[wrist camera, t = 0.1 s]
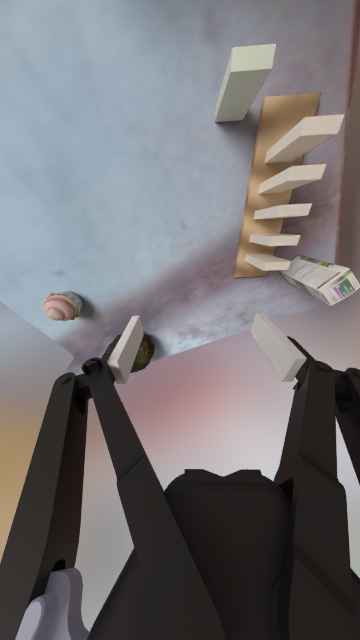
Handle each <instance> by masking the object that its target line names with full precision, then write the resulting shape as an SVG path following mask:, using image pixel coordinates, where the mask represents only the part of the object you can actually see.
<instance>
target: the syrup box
mask: <svg viewBox="0 0 360 640" xmlns="http://www.w3.org/2000/svg"><path fill="white" fill-rule="evenodd" d="M280 273H281V274H282V275H283V276H284V277H285V279H286V280H287V281H288V282H289V283H290V284H292V285H293V286H295V287H297V288H299V289H301V290H302V291H304V292H306V293H308V294H310V295H311V296H313V297H315V298H317V299H319V300H321V301H322V302H324V303H326V304H328V305H330V306H332V305H334V304H335V303H337V302H339V301H341V300H343V299H344V298H346V297H347V296H349V295H350V294H352V293H353V292H355V291H356V290H357V289H359V288H360V284H359V283H358V281H357V279H356V278H355V276H354V275H353V273H352V271H351V270H350V268H346V267H342V266H339V265H335V264H331V263H327V262H324V261H320V260H316V259H312V258H309V257H305V256H301V255H298V256H297V257H296V258H294V259H293V260H292V261H291V263H290V266H289V269H288V270H281V271H280Z"/></svg>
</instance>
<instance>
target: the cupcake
mask: <svg viewBox="0 0 360 640" xmlns="http://www.w3.org/2000/svg"><path fill="white" fill-rule="evenodd" d="M45 298H46V300H45V301H44V311H45V313H46V315H47V317H49V318H51V319H52V320H61V321H66V320H69V319H71V320H74V319H75V317H78V316H79V312H80V310H81V308H82V306H83V301H82V299H81V298H80V297H79V296H78V295H77V294H75V293H73V292H63V293H50V296H49V297H45Z"/></svg>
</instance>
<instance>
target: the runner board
mask: <svg viewBox="0 0 360 640" xmlns="http://www.w3.org/2000/svg"><path fill="white" fill-rule="evenodd" d="M320 95H321V93H310V94H297V95H284V96H271V97H265V99H264V100H263V102H262V106H261V112H260V119H259V125H258V131H257V137H256V143H255V149H254V155H253V161H252V167H251V173H250V179H249V185H248V191H247V197H246V204H245V210H244V216H243V222H242V228H241V234H240V240H239V246H238V252H237V258H236V264H235V270H234V277H254V276H268V272H269V270H268V271H263V270H261V269H259V268H257V267H255V266H253V265H252V264H250V263H248V262H246V261H245V260H246V255H247V254H269V255H272V256H273V255H274V252H275V248H276V246H266V245H262V244H257V243H252V242H249V239H250V234H268V233H274V234H280V231H281V228H282V225H283V221H284V218H276V219H256V220H253V219H254V214H255V211H257V210H261V209H266V208H270V207H275V206H279V205H288V204H289V201H290V197H291V194H292V191H293V189H291V190H288V191H285V192H283V193H265V194H259V189H260V184H261V183H263V182H264V181H266V180H268V179H270V178H271V177H273V176H275V175H277V174H279V173H280V172H282V171H284V170H286V169H288V168H289V167H291V166H300V163H301V160H302V156H303V155H301V156H300V157H298V158H296V159H295V160H293V161H291V162H281V163H265V158H266V153H267V151H268V150H269V149H270V148H271V147H272V146H273V145H275V144H276V143H277V142H278V141H279V140H280V139H281V138H282V137H283V136H285V135H286V134H287V133H288V132H289V131H290V130H291V129H292V128H294V127H295V126H296V125H297V124H298V123H299V122H300V121H301V120H302V119H304V118H305V117H313V116H315V112H316V109H317V105H318V102H319V99H320ZM264 163H265V164H264Z"/></svg>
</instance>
